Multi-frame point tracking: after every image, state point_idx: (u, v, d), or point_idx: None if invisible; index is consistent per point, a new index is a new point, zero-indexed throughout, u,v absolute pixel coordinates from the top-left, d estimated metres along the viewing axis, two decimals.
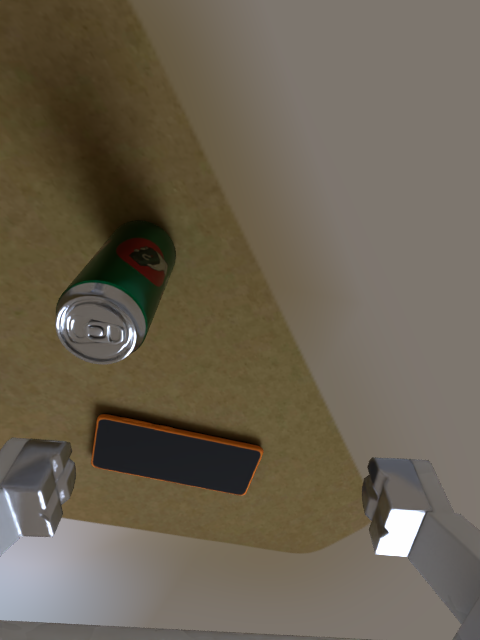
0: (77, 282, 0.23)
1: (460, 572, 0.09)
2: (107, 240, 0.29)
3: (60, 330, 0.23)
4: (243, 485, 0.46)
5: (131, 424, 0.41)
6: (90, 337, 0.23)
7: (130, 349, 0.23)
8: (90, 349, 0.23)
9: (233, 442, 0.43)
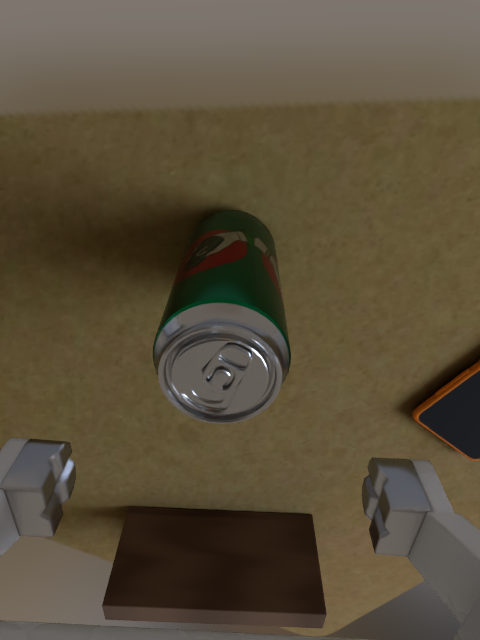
0: (153, 356, 0.16)
1: (460, 572, 0.09)
2: None
3: (200, 414, 0.16)
4: None
5: (450, 391, 0.29)
6: (226, 388, 0.15)
7: (270, 351, 0.14)
8: (244, 398, 0.15)
9: None
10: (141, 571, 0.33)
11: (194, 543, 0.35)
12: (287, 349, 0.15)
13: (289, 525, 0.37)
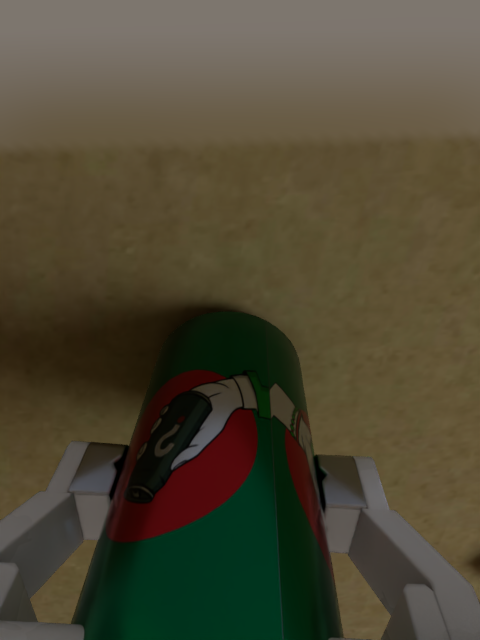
0: None
1: (391, 568, 0.09)
2: None
3: None
4: None
5: None
6: None
7: None
8: None
9: None
10: None
11: None
12: None
13: None
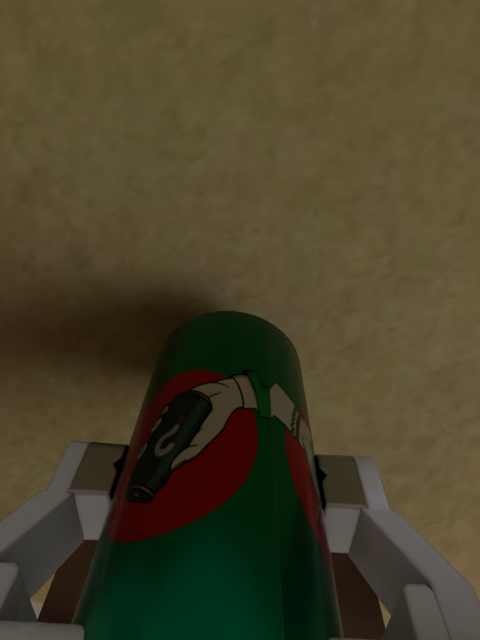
0: None
1: (391, 568, 0.09)
2: None
3: None
4: None
5: None
6: None
7: None
8: None
9: None
10: None
11: None
12: None
13: None
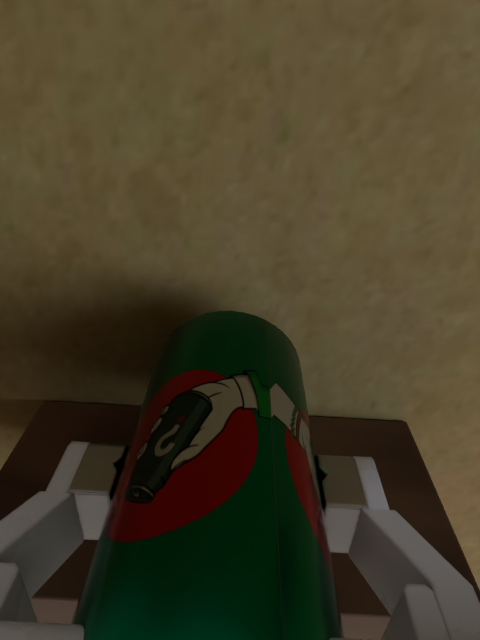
0: None
1: (391, 568, 0.09)
2: None
3: None
4: None
5: None
6: None
7: None
8: None
9: None
10: None
11: None
12: None
13: (365, 438, 0.18)
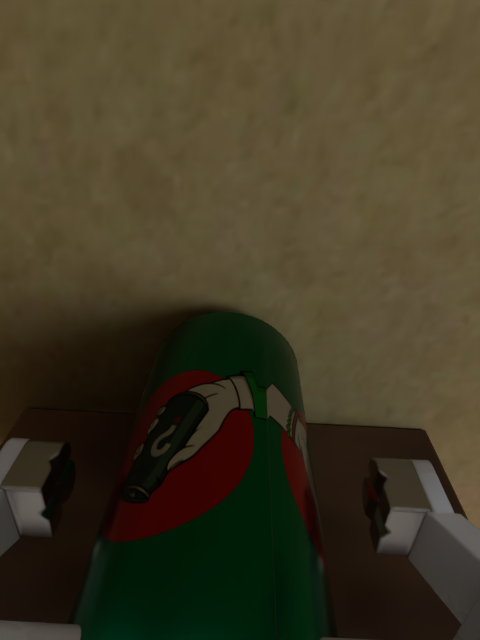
0: None
1: (460, 572, 0.09)
2: None
3: None
4: None
5: None
6: None
7: None
8: None
9: None
10: (17, 541, 0.12)
11: None
12: None
13: (381, 448, 0.16)
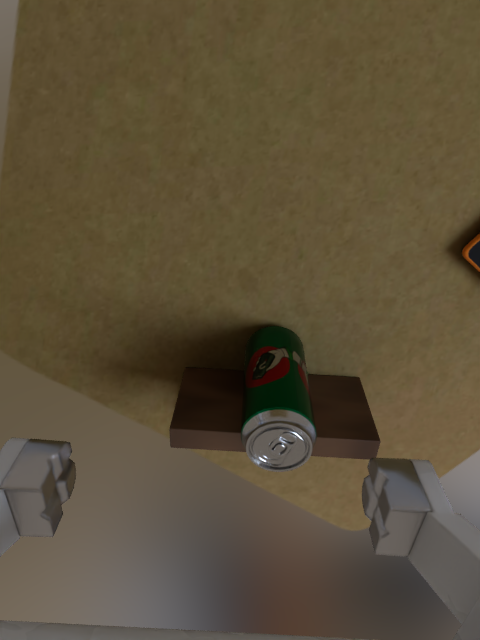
0: None
1: (460, 572, 0.09)
2: None
3: (266, 466, 0.29)
4: None
5: None
6: (281, 453, 0.28)
7: (306, 436, 0.27)
8: (291, 458, 0.28)
9: None
10: (202, 408, 0.35)
11: None
12: (315, 432, 0.28)
13: (338, 383, 0.38)
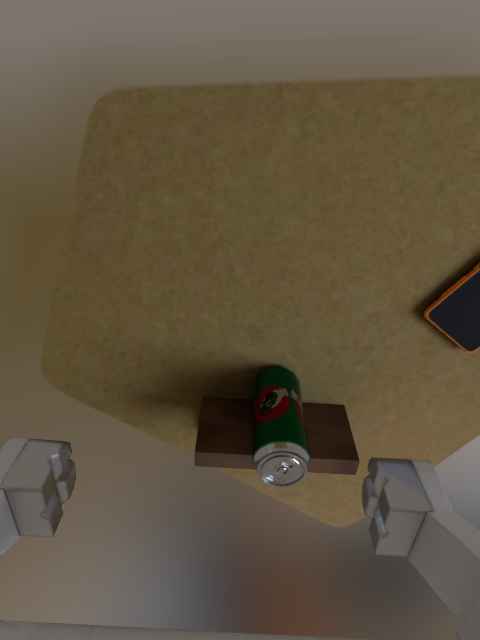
0: None
1: (460, 572, 0.09)
2: None
3: (272, 483, 0.38)
4: None
5: (451, 293, 0.40)
6: (284, 474, 0.37)
7: (302, 462, 0.36)
8: (291, 478, 0.37)
9: None
10: (219, 434, 0.44)
11: None
12: (309, 458, 0.37)
13: (327, 411, 0.48)
